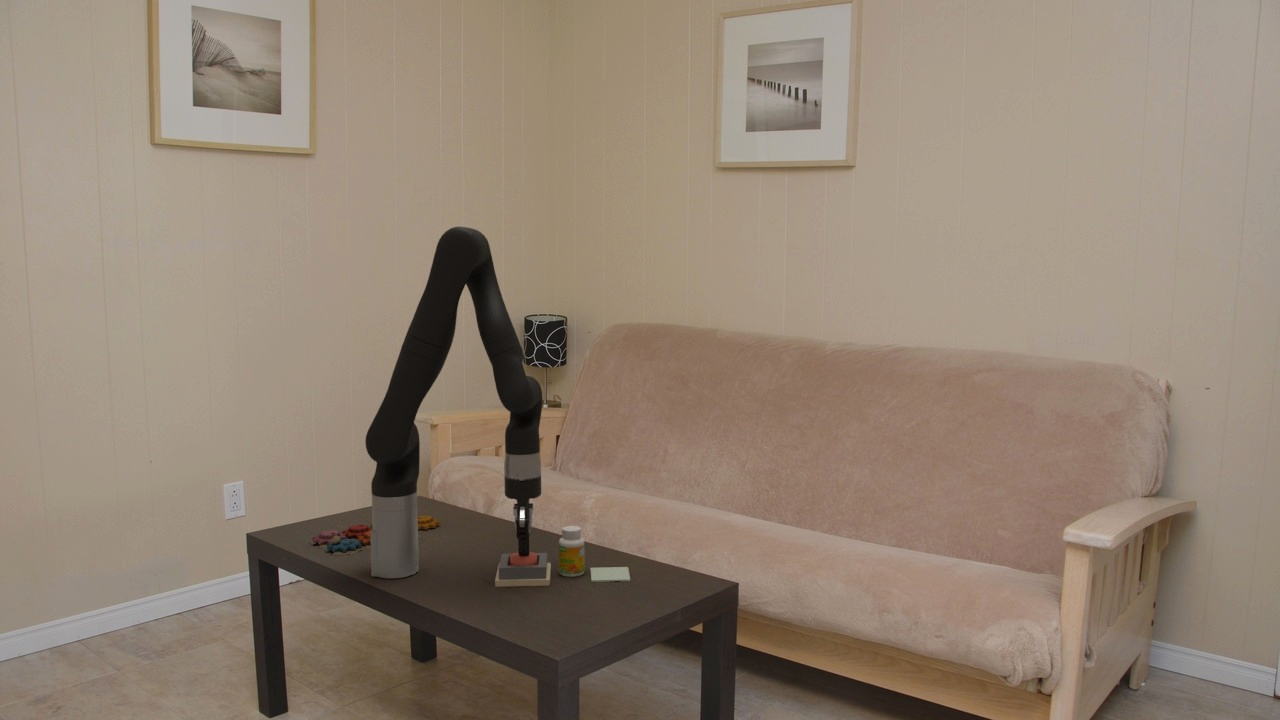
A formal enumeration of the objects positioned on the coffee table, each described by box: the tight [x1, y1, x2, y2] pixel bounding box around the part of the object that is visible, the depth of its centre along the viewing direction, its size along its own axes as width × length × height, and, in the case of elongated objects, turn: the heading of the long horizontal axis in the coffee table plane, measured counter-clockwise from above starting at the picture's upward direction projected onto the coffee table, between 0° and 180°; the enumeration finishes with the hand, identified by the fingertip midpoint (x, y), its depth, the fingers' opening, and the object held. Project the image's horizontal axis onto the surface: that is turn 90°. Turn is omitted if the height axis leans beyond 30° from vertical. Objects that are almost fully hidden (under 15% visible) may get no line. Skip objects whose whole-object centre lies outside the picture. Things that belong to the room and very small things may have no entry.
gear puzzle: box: [310, 515, 441, 555], centre depth 229 cm, size 31×16×4 cm, turn 134°
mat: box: [590, 566, 631, 583], centre depth 201 cm, size 8×8×1 cm
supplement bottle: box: [558, 525, 586, 578], centre depth 202 cm, size 5×5×10 cm
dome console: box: [494, 552, 552, 588], centre depth 200 cm, size 11×11×4 cm
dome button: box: [510, 551, 537, 566], centre depth 199 cm, size 6×6×3 cm
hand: (524, 555), depth 199 cm, fingers closed
